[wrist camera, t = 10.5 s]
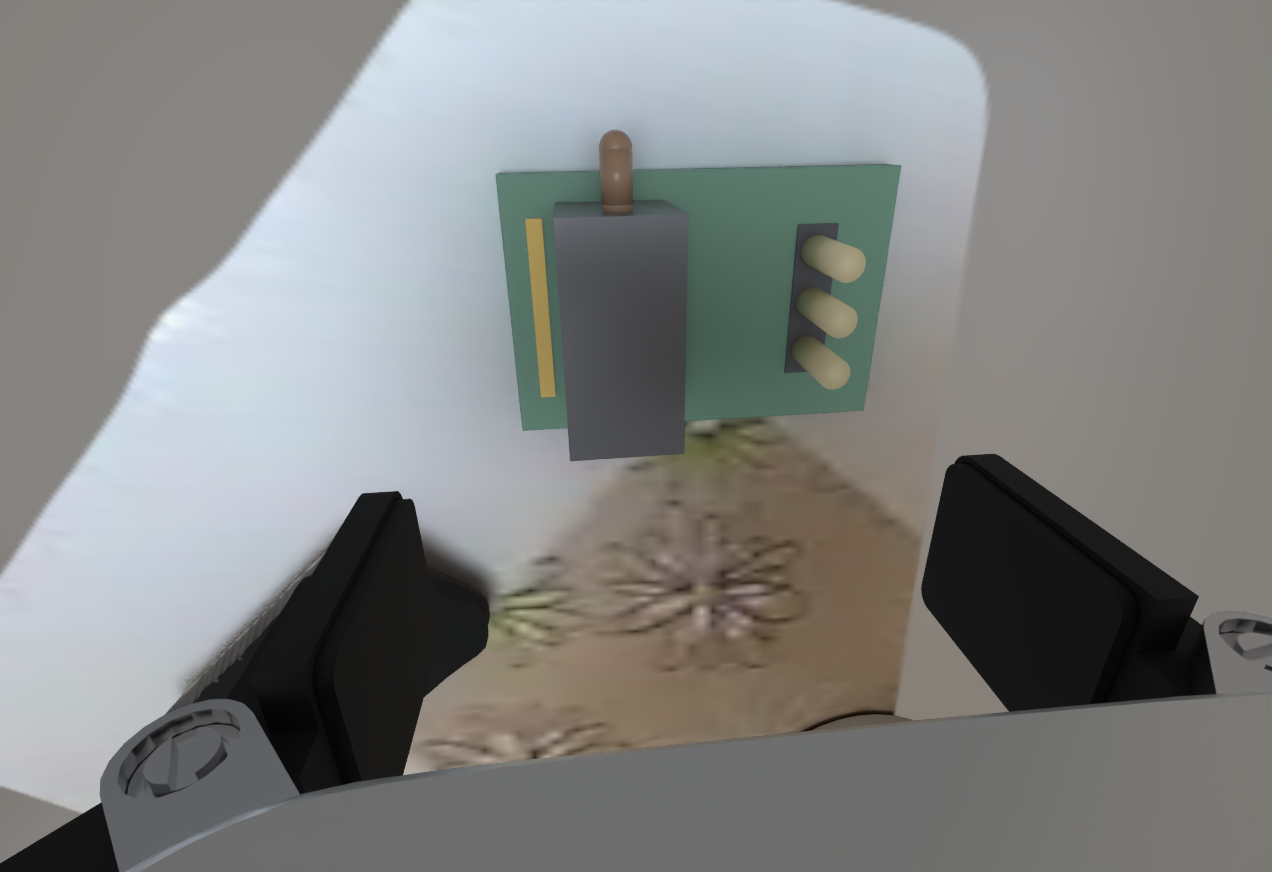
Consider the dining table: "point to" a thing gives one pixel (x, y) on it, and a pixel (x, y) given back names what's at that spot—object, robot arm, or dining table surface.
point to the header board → (726, 284)
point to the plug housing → (622, 315)
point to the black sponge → (457, 644)
